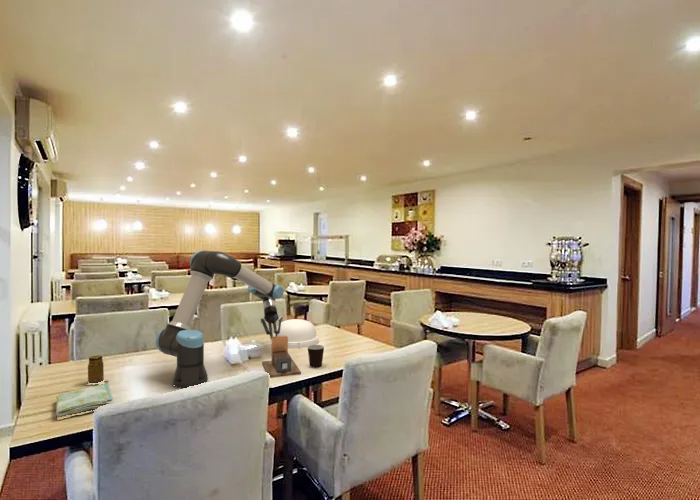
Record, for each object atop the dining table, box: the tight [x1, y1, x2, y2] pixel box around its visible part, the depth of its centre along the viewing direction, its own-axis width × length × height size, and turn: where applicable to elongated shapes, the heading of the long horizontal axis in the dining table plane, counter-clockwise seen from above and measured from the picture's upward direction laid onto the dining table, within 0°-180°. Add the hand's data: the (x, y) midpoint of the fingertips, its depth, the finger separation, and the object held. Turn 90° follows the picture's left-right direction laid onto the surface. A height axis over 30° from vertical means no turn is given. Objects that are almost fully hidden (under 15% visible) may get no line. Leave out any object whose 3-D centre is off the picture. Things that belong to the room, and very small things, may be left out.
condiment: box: [87, 355, 105, 383], centre depth 182 cm, size 7×8×12 cm
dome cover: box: [276, 318, 320, 350], centre depth 255 cm, size 32×30×14 cm
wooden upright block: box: [270, 336, 289, 369], centre depth 201 cm, size 8×16×14 cm, turn 20°
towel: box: [55, 382, 113, 419], centre depth 158 cm, size 18×21×5 cm
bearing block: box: [274, 352, 292, 373], centre depth 200 cm, size 7×10×7 cm
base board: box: [261, 358, 302, 379], centre depth 204 cm, size 16×22×1 cm
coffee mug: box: [307, 344, 325, 369], centre depth 210 cm, size 12×9×10 cm
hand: (274, 344), depth 221 cm, fingers closed
